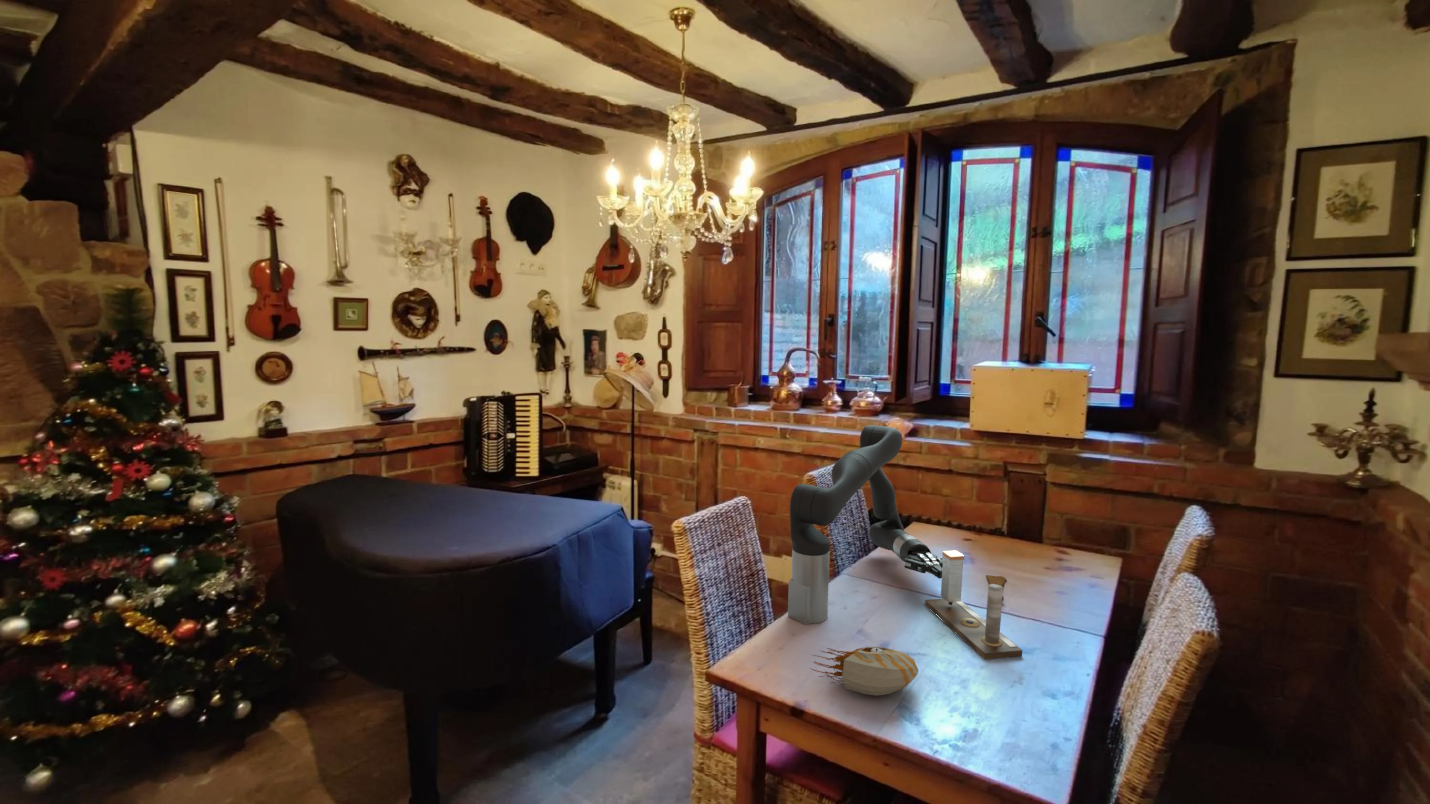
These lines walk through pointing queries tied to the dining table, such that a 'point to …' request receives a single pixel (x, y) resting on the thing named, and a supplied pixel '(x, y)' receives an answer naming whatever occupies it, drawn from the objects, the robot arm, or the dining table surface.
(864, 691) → the nautilus
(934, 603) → the wooden base plate
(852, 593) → the dining table surface
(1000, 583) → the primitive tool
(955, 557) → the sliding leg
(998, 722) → the dining table surface
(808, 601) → the robot arm
